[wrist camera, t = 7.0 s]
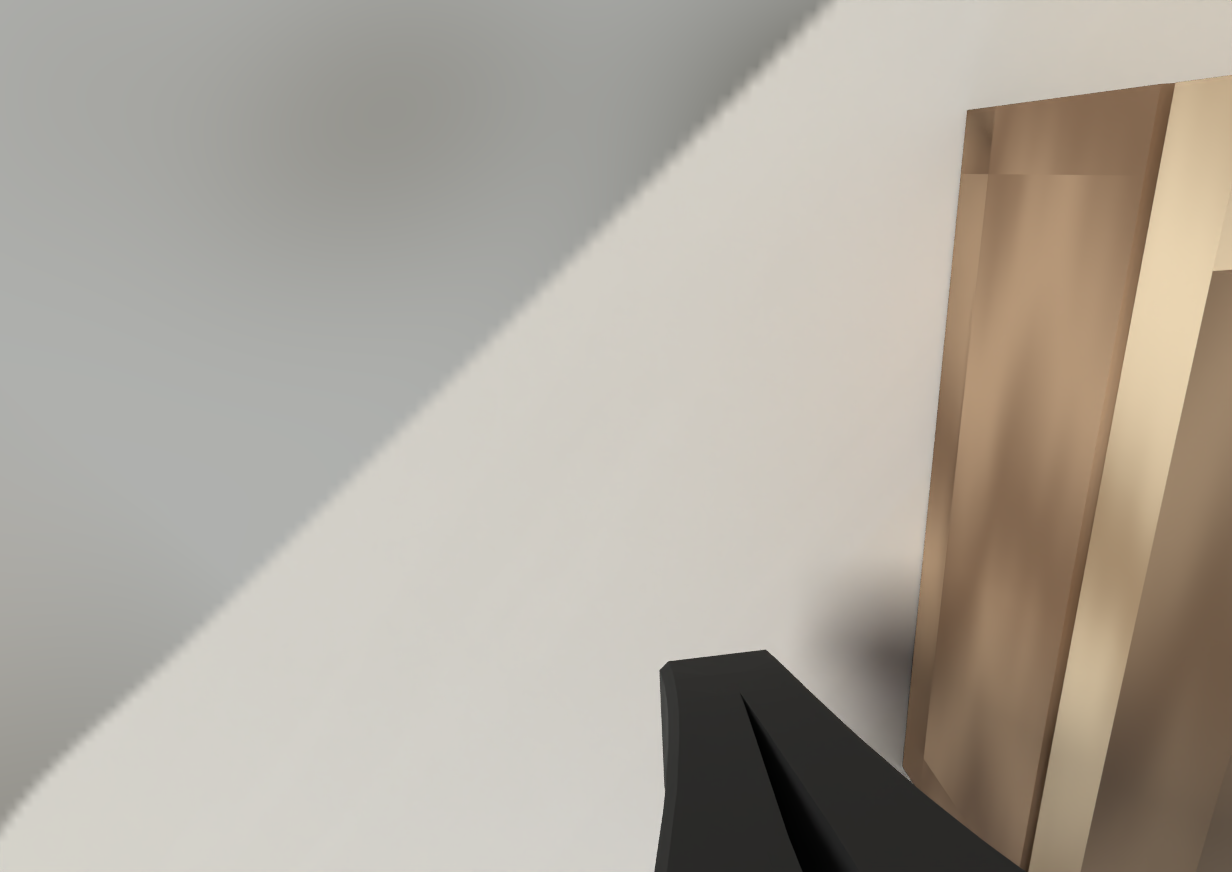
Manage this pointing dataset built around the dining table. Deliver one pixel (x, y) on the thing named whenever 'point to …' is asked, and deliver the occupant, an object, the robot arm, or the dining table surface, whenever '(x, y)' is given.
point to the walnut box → (1024, 438)
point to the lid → (1160, 550)
